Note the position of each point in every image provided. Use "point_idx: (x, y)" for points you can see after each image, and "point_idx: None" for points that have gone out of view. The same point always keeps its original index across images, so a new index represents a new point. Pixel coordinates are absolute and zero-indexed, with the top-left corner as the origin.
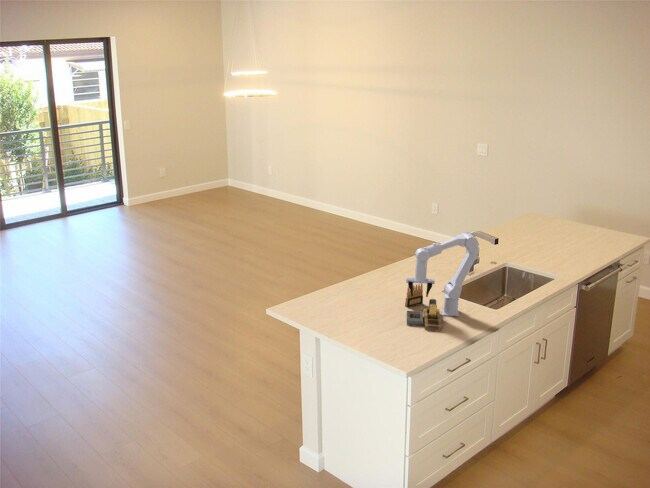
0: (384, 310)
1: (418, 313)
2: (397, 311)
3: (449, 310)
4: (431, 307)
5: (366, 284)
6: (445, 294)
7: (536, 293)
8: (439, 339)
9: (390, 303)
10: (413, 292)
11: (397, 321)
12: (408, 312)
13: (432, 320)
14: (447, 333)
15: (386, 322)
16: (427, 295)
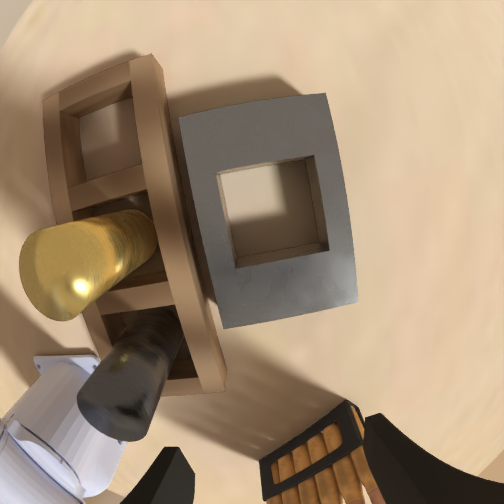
0: (467, 305)
1: (250, 281)
2: (405, 324)
3: (55, 377)
4: (65, 230)
5: (466, 469)
6: (75, 487)
7: None
8: (78, 7)
9: (429, 401)
10: (332, 497)
11: (391, 151)
12: (342, 272)
13: (105, 175)
14: (34, 95)
15: (445, 122)
16: (156, 461)
